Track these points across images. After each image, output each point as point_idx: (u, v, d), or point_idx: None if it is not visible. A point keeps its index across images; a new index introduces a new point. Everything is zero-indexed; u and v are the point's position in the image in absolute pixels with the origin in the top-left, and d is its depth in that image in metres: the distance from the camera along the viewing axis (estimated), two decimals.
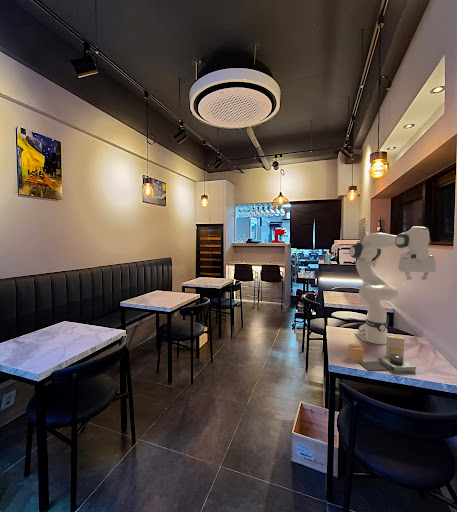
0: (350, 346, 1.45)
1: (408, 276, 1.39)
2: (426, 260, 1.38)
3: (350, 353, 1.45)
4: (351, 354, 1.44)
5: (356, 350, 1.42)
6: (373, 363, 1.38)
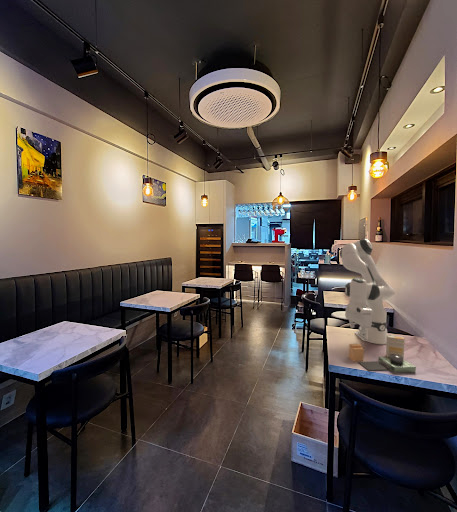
0: (350, 346, 1.45)
1: (363, 330, 1.38)
2: None
3: (350, 353, 1.45)
4: (351, 354, 1.44)
5: (356, 350, 1.42)
6: (373, 363, 1.38)
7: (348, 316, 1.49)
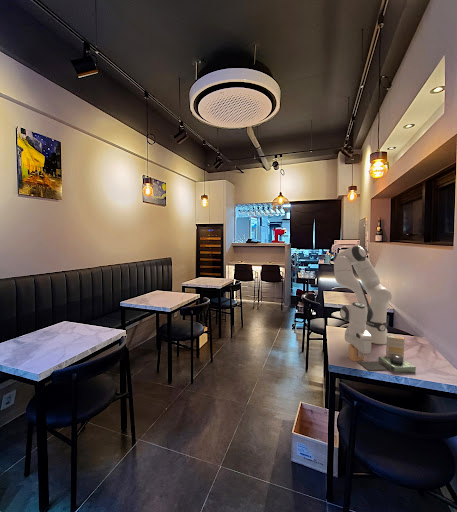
0: (350, 346, 1.45)
1: (361, 354, 1.40)
2: None
3: (350, 353, 1.45)
4: (351, 354, 1.44)
5: (356, 350, 1.42)
6: (373, 363, 1.38)
7: (348, 340, 1.49)
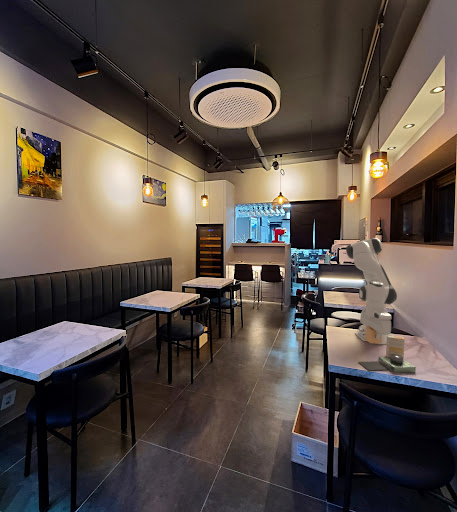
0: (367, 328, 1.36)
1: (379, 336, 1.31)
2: None
3: (367, 335, 1.35)
4: (368, 336, 1.34)
5: (374, 332, 1.33)
6: (373, 363, 1.38)
7: (364, 322, 1.40)
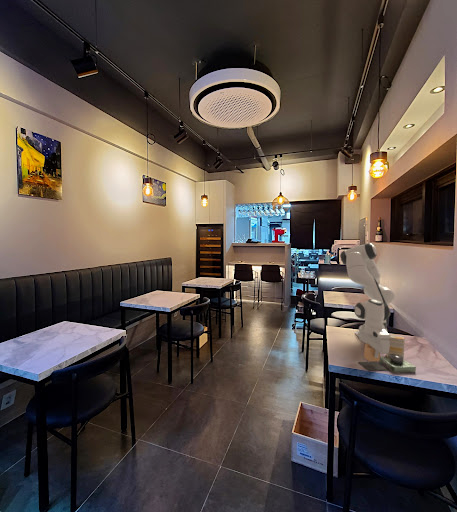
0: (365, 345, 1.36)
1: (377, 354, 1.32)
2: None
3: (365, 353, 1.36)
4: (367, 354, 1.35)
5: (372, 350, 1.33)
6: (373, 363, 1.38)
7: (363, 339, 1.41)
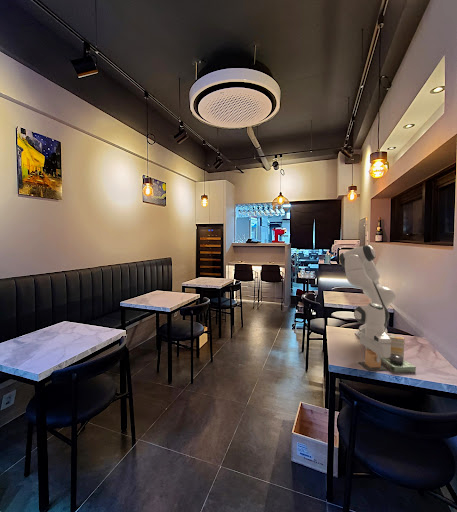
0: (366, 352, 1.36)
1: None
2: None
3: (366, 359, 1.36)
4: (368, 360, 1.35)
5: (373, 356, 1.33)
6: None
7: (364, 342, 1.41)
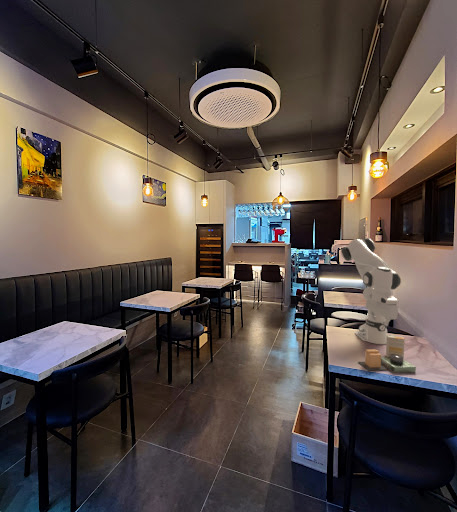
0: (366, 352, 1.36)
1: None
2: None
3: (366, 359, 1.36)
4: (368, 360, 1.35)
5: (373, 356, 1.33)
6: None
7: (370, 307, 1.40)
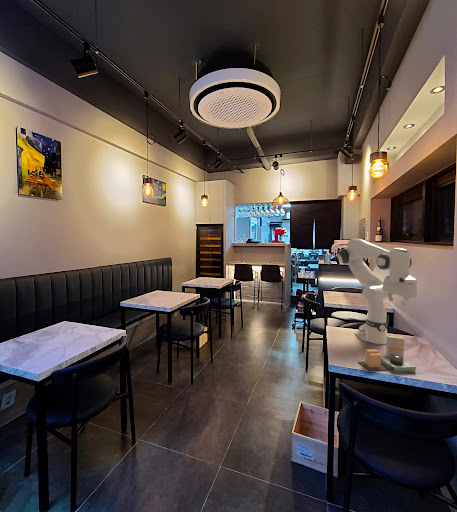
0: (366, 352, 1.36)
1: (406, 301, 1.30)
2: None
3: (366, 359, 1.36)
4: (368, 360, 1.35)
5: (373, 356, 1.33)
6: None
7: (387, 289, 1.41)
